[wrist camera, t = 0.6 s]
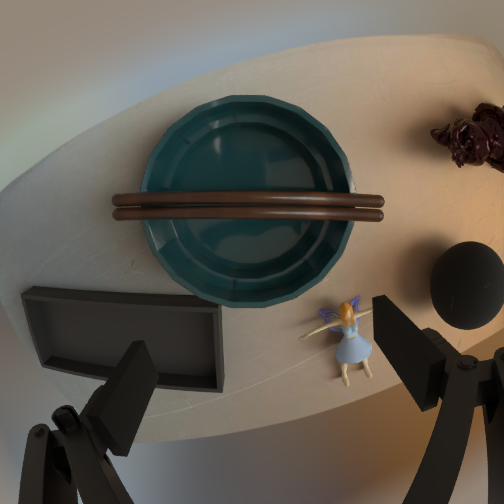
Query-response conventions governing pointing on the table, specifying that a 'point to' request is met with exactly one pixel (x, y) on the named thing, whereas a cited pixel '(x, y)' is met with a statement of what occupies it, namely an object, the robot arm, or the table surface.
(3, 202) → the table surface
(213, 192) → the chopsticks
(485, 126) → the figurine
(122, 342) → the tray
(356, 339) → the fairy figurine
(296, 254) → the bowl
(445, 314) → the speaker
